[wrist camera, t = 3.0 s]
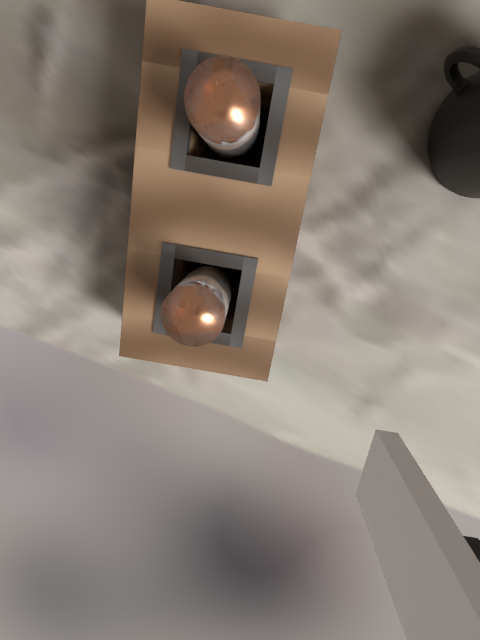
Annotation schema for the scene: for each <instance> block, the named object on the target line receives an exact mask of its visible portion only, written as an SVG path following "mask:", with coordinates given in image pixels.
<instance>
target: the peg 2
mask: <svg viewBox="0 0 480 640" xmlns="http://www.w3.org/2000/svg"><path fill="white" fill-rule="evenodd" d="M231 296H232V288H231V284H230V281H229V279H228V278H227V276H226V275H225V274H224V273H223V272H221V271H220V270H218V269H216V268H214V267H208V266H203V267H199V268H196V269H194V270H192V271H191V272H190V273H189V274H188V275H187V276H186V277H185V278H184V279H183V280H182V281H181V282H180V283H179V284H178V285H177V286H176V287H175V288H174V289H173V290H172V291H171V292H170V293H169V294H168V295H167V297H166V298H165V300H164V302H163V304H162V307H161V322H162V325H163V327H164V329H165V331H166V332H167V334H168V335H169V336H170V337H171V338H172V339H173V340H175V341H176V342H178V343H180V344H182V345H185V346H190V347H199V346H203V345H206V344H209V343H210V342H212V341H213V340H215V339H216V338H217V337H218V336H219V334H220V333H221V331H222V329H223V326H224V323H225V319H226V315H227V311H228V308H229V304H230V300H231Z"/></svg>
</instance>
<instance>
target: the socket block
mask: <svg viewBox="0 0 480 640" xmlns="http://www.w3.org/2000/svg"><path fill="white" fill-rule="evenodd" d="M341 31H342V30H337V29H332V28H326V27H321V26H315V25H310V24H305V23H299V22H294V21H288V20H283V19H277V18H272V17H266V16H261V15H255V14H250V13H245V12H239V11H234V10H228V9H223V8H217V7H212V6H206V5H201V4H195V3H190V2H184V1H179V0H147V1H146V14H145V27H144V40H143V53H142V66H141V79H140V92H139V105H138V118H137V131H136V144H135V157H134V170H133V183H132V196H131V209H130V222H129V235H128V248H127V261H126V274H125V287H124V300H123V313H122V326H121V339H120V352H119V356H123V357H128V358H134V359H140V360H146V361H152V362H157V363H163V364H169V365H175V366H181V367H187V368H192V369H198V370H204V371H210V372H216V373H222V374H227V375H233V376H239V377H245V378H251V379H256V380H262V381H268V376H269V372H270V367H271V362H272V357H273V353H274V348H275V343H276V338H277V334H278V329H279V324H280V320H281V315H282V310H283V305H284V301H285V296H286V291H287V287H288V282H289V277H290V272H291V268H292V263H293V258H294V253H295V249H296V244H297V239H298V235H299V230H300V225H301V220H302V216H303V211H304V206H305V201H306V197H307V192H308V187H309V183H310V178H311V173H312V168H313V164H314V159H315V154H316V149H317V145H318V140H319V135H320V131H321V126H322V121H323V116H324V112H325V107H326V102H327V98H328V93H329V88H330V83H331V79H332V74H333V69H334V64H335V60H336V55H337V50H338V46H339V41H340V36H341ZM222 55H224V56H230V57H234V58H236V59H238V60H240V61H242V62H243V63H244V64H246V65H247V66H248V67H249V68H250V70H251V71H252V72H253V74H254V76H255V77H256V79H257V82H258V85H259V89H260V96H261V102H260V109H262V110H267V111H269V117H268V123H267V128H266V134H265V140H264V146H263V152H262V158H261V163H260V168H257V167H251V166H245V165H240V164H234V163H229V162H223V161H217V160H212V159H206V158H202V155H203V147H204V139H203V138H202V137H201V136H200V134H199V133H198V132H197V131H196V129H195V128H194V127H193V126H192V124H191V122H190V121H189V118H188V116H187V113H186V110H185V104H184V93H185V87H186V84H187V81H188V79H189V77H190V75H191V73H192V72H193V70H194V69H195V68H196V67H197V66H198V65H199V64H200V63H201V62H203V61H204V60H206V59H208V58H211V57H214V56H222ZM189 261H192V262H198V263H203V264H209V265H215V266H220V267H226V268H232V269H238V270H242V274H241V280H240V286H239V291H238V297H237V303H236V309H233V308H228V311H227V315H226V319H225V323H224V326H223V329H222V331H221V333H220V334H219V336H218V337H217V338H216V339H215V340H213V341H212V342H210V343H209V344H206V345H203V346H199V347H190V346H185V345H182V344H180V343H178V342H176V341H175V340H173V339H172V338H171V337H170V336H169V335H168V334H167V332H166V331H165V329H164V327H163V325H162V322H161V307H162V304H163V302H164V300H165V298H166V297H167V295H168V294H169V293H170V292H171V291H172V290H173V289H174V288H175V287H176V286H177V285H178V284H179V283H180V282H181V281H182V280H183V279H184V278H185V277H186V276H187V272H188V265H189Z"/></svg>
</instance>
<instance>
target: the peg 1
mask: <svg viewBox="0 0 480 640" xmlns="http://www.w3.org/2000/svg"><path fill="white" fill-rule="evenodd" d="M260 102H261V96H260V89H259V85H258V82H257V79H256V77H255V76H254V74H253V72H252V71H251V70H250V68H249V67H248V66H247V65H246V64H244V63H243V62H242V61H240V60H238V59H236V58H234V57H230V56H224V55H222V56H214V57H211V58H208V59H206V60H204V61H203V62H201V63H200V64H199V65H198V66H197V67H196V68H195V69H194V70H193V72H192V73H191V75H190V77H189V79H188V81H187V84H186V87H185V93H184V104H185V110H186V113H187V116H188V118H189V121H190V122H191V124H192V126H193V127H194V128H195V129H196V131H197V132H198V133H199V134H200V136H201V137H202V138H203V139H204V141H205V142H206V143H207V144H208V145H209V147H210V148H211V149H212V150H213V151H214V152H216V153H217V154H219V155H221V156H224V157H238V156H241V155H243V154H245V153H246V152H248V151H249V150H250V149H251V148H252V146H253V145H254V143H255V142H256V140H257V137H258V133H259V124H260Z"/></svg>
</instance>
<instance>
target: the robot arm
mask: <svg viewBox="0 0 480 640" xmlns="http://www.w3.org/2000/svg"><path fill="white" fill-rule="evenodd" d="M356 497H357V500H358V503H359V506H360V509H361V511H362V514H363V517H364V520H365V523H366V525H367V528H368V531H369V534H370V537H371V539H372V542H373V545H374V548H375V551H376V554H377V556H378V559H379V562H380V565H381V568H382V571H383V574H384V576H385V579H386V582H387V585H388V588H389V591H390V593H391V596H392V599H393V602H394V604H395V607H396V610H397V613H398V616H399V619H400V622H401V625H402V627H403V630H404V633H405V636H406V639H407V640H480V540H479V539H478V538H473V537H466V536H463V535H462V534H461V532H460V530H459V529H458V527H457V526H456V524H455V523H454V521H453V519H452V518H451V516H450V515H449V513H448V512H447V510H446V508H445V507H444V505H443V504H442V502H441V500H440V499H439V497H438V496H437V494H436V492H435V491H434V489H433V488H432V486H431V485H430V483H429V481H428V480H427V478H426V477H425V475H424V474H423V472H422V470H421V469H420V467H419V466H418V464H417V462H416V461H415V459H414V458H413V456H412V455H411V453H410V451H409V450H408V448H407V447H406V445H405V444H404V442H403V440H402V439H401V437H400V436H399V434H398V433H394V432H388V431H382V430H376V431H375V434H374V437H373V440H372V443H371V447H370V450H369V453H368V456H367V460H366V463H365V466H364V469H363V472H362V476H361V479H360V482H359V485H358V488H357V492H356Z"/></svg>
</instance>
